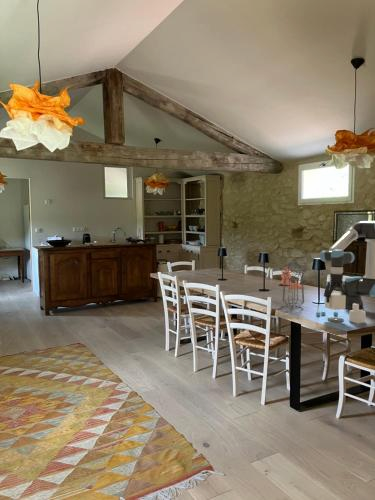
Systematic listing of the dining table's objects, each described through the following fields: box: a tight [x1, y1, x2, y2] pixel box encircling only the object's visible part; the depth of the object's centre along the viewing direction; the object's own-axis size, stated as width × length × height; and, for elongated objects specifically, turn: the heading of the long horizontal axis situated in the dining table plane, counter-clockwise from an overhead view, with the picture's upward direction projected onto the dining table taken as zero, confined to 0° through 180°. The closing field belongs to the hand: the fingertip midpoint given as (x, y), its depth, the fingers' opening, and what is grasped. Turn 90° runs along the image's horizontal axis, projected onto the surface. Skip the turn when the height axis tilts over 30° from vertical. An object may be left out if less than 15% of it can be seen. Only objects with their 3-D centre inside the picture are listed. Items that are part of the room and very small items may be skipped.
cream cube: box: [324, 292, 346, 311], centre depth 257 cm, size 9×9×9 cm
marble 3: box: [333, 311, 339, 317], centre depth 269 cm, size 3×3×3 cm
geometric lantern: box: [280, 261, 308, 309], centre depth 296 cm, size 16×16×35 cm
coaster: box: [327, 316, 345, 323], centre depth 258 cm, size 10×10×1 cm
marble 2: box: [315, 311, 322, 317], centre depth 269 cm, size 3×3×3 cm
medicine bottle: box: [348, 303, 367, 324], centre depth 253 cm, size 7×7×12 cm
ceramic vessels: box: [280, 269, 305, 290], centre depth 381 cm, size 35×21×19 cm, turn 14°
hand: (335, 307), depth 257 cm, fingers closed on cream cube, 9 cm apart
